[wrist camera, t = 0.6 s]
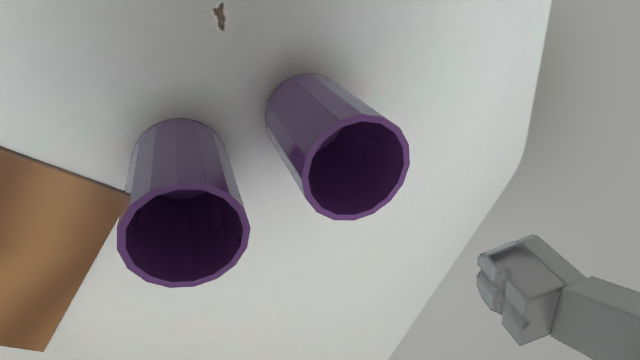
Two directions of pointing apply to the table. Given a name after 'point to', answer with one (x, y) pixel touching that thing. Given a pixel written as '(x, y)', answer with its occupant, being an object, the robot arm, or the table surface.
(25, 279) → the mat
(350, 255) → the table surface
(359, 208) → the cup
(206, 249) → the cup
